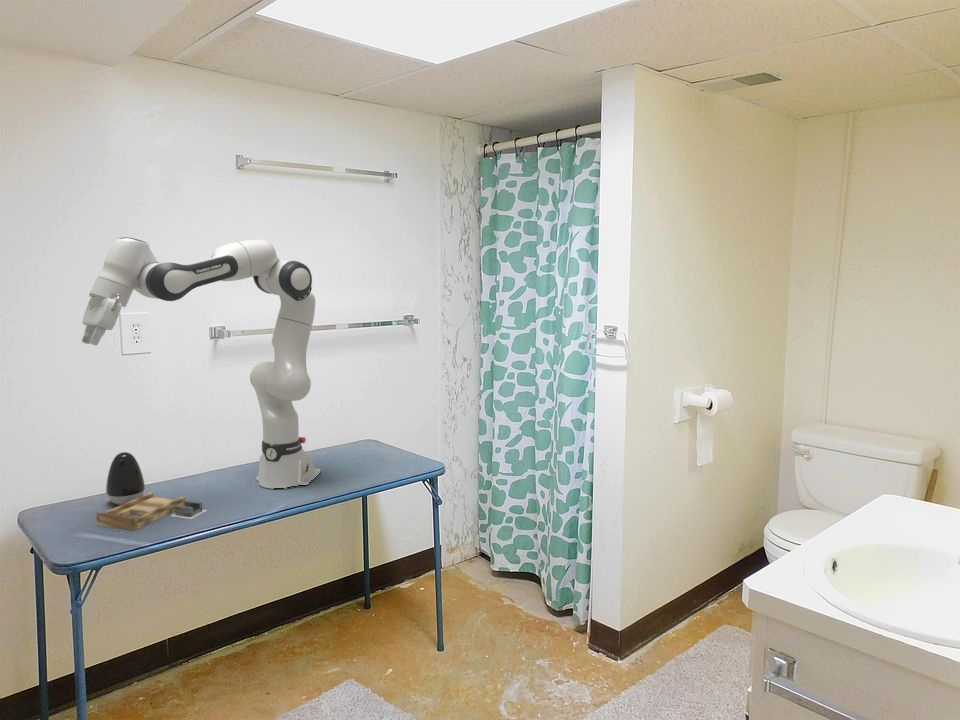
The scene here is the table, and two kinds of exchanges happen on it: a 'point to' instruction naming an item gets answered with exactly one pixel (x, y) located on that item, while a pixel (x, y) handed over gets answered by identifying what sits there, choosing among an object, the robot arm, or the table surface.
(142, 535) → the table surface
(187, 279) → the robot arm
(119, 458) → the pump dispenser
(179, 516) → the white square plate
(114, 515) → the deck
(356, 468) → the table surface
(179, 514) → the clip
